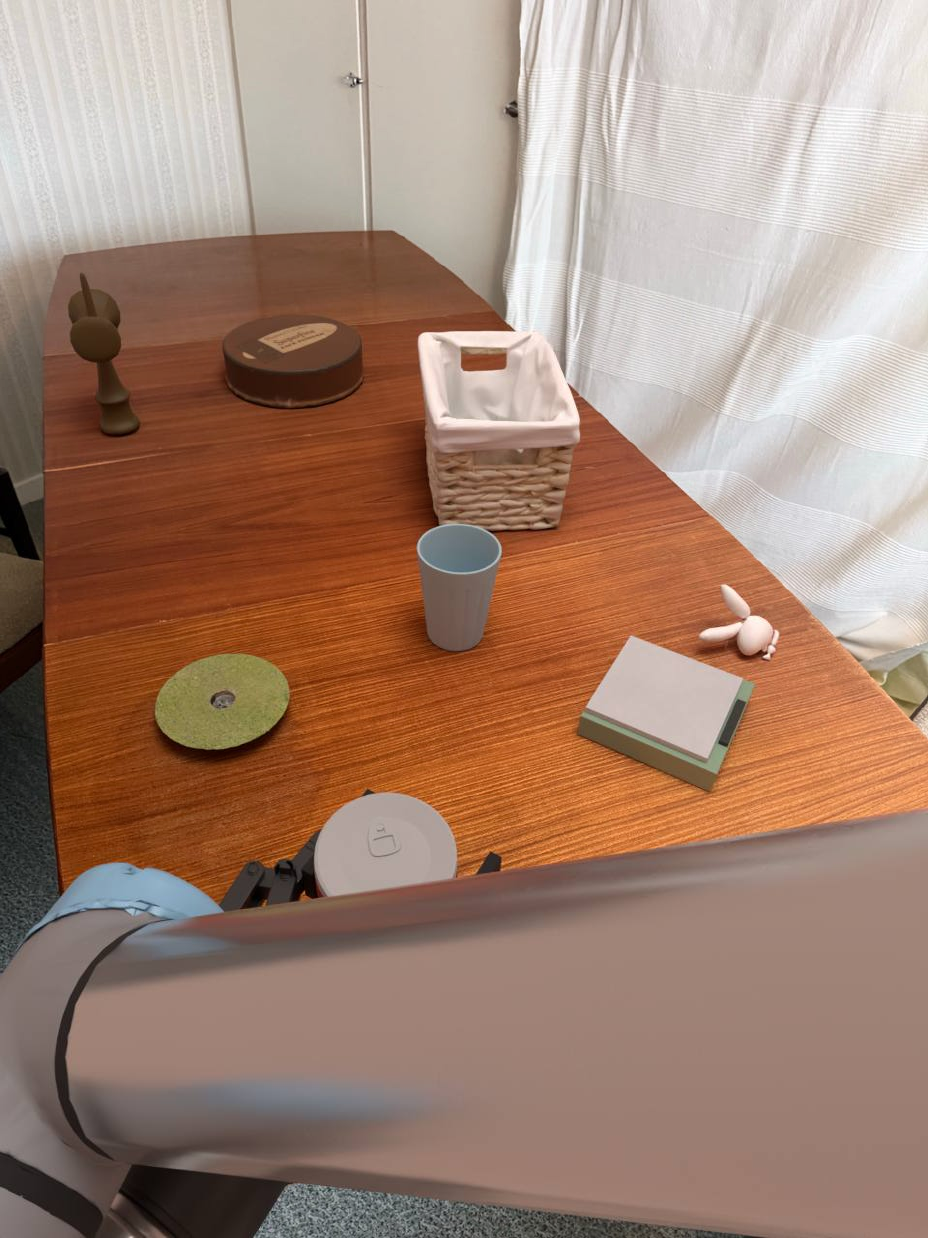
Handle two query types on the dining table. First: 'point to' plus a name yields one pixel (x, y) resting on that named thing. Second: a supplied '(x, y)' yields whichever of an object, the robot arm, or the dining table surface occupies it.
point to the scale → (667, 711)
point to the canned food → (383, 846)
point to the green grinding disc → (222, 701)
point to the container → (293, 360)
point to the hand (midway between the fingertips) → (431, 835)
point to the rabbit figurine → (743, 628)
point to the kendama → (102, 354)
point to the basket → (497, 430)
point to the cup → (457, 583)
